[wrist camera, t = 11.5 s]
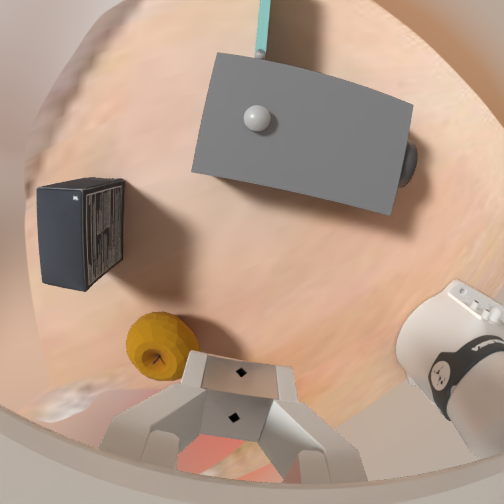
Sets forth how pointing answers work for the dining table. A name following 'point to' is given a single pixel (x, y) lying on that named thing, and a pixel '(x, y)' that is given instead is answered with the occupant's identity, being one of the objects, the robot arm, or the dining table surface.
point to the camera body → (304, 133)
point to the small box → (79, 230)
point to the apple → (160, 345)
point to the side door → (262, 29)
